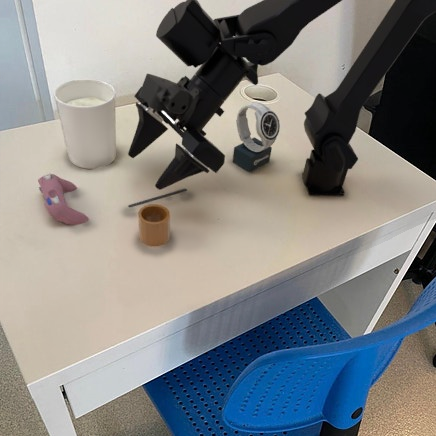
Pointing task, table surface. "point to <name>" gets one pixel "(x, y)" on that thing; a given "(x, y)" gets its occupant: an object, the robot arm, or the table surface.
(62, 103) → the candle holder
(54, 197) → the video game controller
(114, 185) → the table surface
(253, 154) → the watch
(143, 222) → the brown wooden cup
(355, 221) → the table surface
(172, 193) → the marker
